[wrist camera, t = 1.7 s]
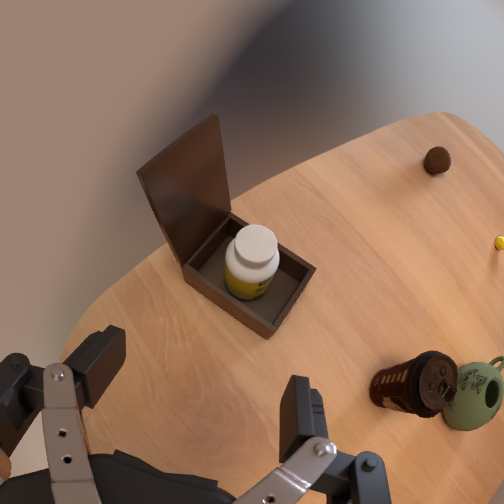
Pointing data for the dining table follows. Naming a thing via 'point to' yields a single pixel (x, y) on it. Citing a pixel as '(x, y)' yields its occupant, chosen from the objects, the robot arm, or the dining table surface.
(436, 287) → the dining table surface
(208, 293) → the brown wooden box
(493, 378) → the green ceramic domed vessel
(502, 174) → the dining table surface
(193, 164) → the lid
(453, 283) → the dining table surface
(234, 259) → the pill bottle
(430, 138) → the dining table surface
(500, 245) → the yellow rounded lump
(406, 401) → the coffee cup
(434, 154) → the potato
